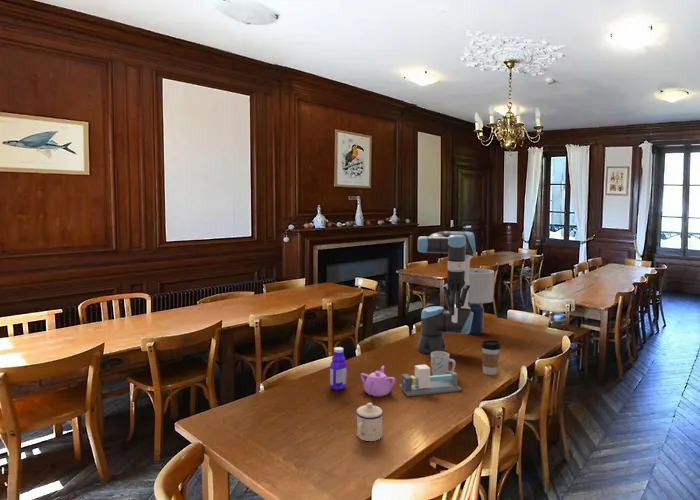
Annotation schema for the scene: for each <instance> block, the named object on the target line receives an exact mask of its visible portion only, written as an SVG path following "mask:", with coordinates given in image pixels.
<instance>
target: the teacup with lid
mask: <svg viewBox="0 0 700 500" xmlns="http://www.w3.org/2000/svg"><path fill="white" fill-rule="evenodd" d="M355 414H356V437H357V436H358V437H359V438H360V439H362V440H366V441H374V440H378V439H379V440H381V439H382V437H381V436H383V415H384V411H383V410H382V408H381V407H379V406H377V405H373V403H372V402H367V403H366V404H365V405H361V406H359V407H357V409H356V411H355ZM358 437H357V438H358ZM359 438H358V439H359ZM380 438H381V439H380ZM360 439H359V440H360ZM362 440H361V441H362ZM379 440H378V441H379Z"/></svg>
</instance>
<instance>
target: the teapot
mask: <svg viewBox="0 0 700 500" xmlns="http://www.w3.org/2000/svg"><path fill="white" fill-rule="evenodd" d="M384 369H385V365H382V366H381V367H380V370H375V372H371V373H370V374H368V373H364V372H362V373H359V374H360V380H361V381H362V383H363V390H364V391H365V393H366V394H367V393H368V394H367V395H369V396H371V395H373V396H372V397H384V395H385V396H387V395H388V394H389V393H391V391H392V387H393V386H394V384H395V383H396V378H395V377H394V376H387V375H386V374H385V370H384ZM365 377H367V378H366V379H365Z"/></svg>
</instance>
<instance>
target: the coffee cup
mask: <svg viewBox="0 0 700 500" xmlns="http://www.w3.org/2000/svg"><path fill="white" fill-rule="evenodd" d="M481 348H482V350H481V355H482V356H481V357H482V358H481V359H482V372H483V374H484V375H488V376H495V375H496V374H497V371H498V365H499V359H500V358H499V357H500V349H501V342H500V341H499V340H496V339H495V340H494V339H492V340H491V339H490V340H489V339H487V340H483V341H482V342H481Z"/></svg>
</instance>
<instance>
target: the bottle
mask: <svg viewBox="0 0 700 500" xmlns="http://www.w3.org/2000/svg"><path fill="white" fill-rule="evenodd" d="M344 351H345V350H344V347H341V346H337V347H333V355H332V356H331V360H332V361H331V363H330V365H329V369H330V370H329V387H330V388H331V389H332V390H334V391H339V390H343V389H345V388H346V386H347V373H348V371H347V366H348V364H347V362H346V357H345V353H344Z"/></svg>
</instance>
